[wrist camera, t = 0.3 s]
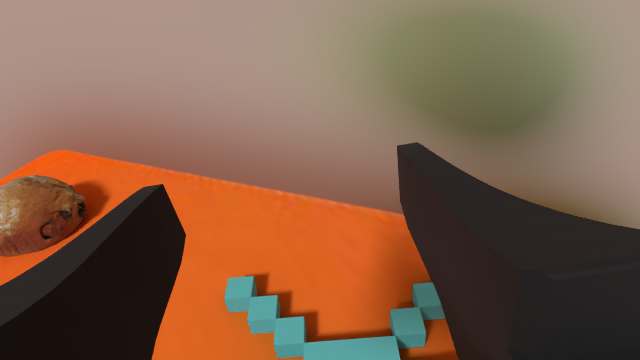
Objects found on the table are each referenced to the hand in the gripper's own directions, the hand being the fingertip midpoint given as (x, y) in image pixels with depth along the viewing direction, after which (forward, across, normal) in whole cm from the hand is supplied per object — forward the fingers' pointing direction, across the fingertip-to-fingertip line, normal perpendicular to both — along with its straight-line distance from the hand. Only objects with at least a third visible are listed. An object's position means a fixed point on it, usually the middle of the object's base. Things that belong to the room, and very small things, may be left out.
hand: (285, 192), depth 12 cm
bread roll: (+27, +33, +18) cm, 46 cm away
